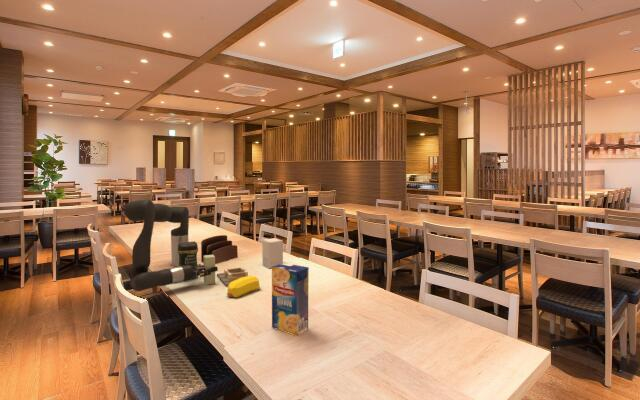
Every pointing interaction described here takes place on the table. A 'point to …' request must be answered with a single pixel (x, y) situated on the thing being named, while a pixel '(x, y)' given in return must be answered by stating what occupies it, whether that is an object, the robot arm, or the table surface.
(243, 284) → the yellow banana
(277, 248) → the supplement box
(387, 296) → the table surface
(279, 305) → the blue cracker box
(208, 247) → the letter holder
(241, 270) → the well board
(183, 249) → the coffee jar
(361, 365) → the table surface
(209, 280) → the post
